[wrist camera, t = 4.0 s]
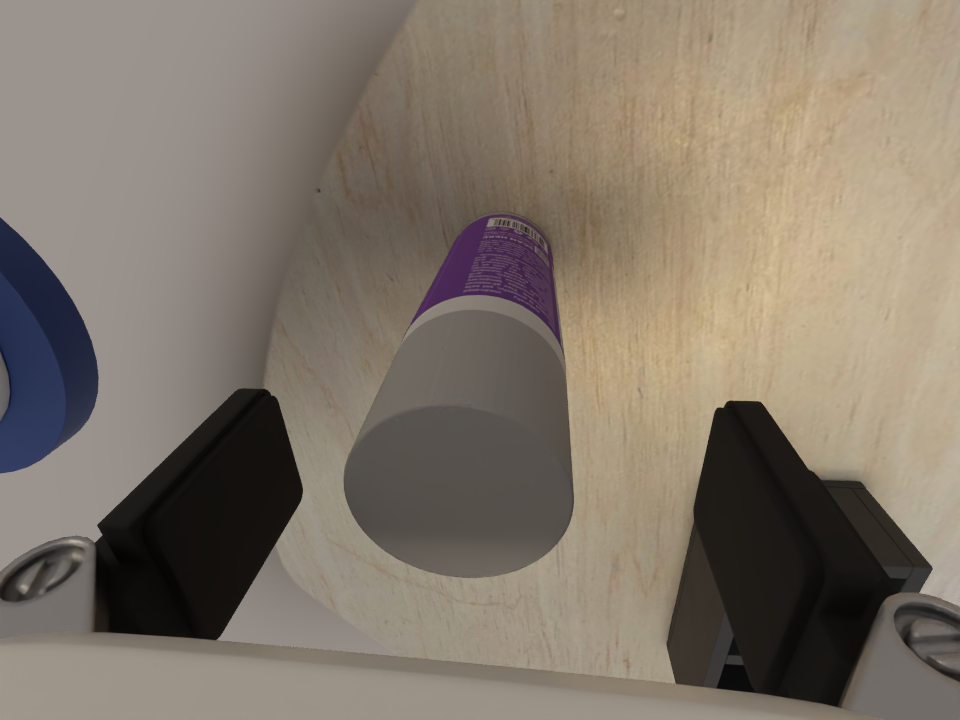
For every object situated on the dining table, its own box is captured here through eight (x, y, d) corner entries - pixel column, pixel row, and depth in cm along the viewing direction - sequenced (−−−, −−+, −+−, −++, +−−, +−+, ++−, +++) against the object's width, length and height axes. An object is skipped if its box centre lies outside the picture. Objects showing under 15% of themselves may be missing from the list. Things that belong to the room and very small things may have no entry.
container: (431, 243, 22) (286, 455, 9) (523, 191, 21) (505, 354, 8) (482, 326, 24) (421, 604, 11) (570, 283, 23) (620, 545, 10)
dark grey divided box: (666, 644, 34) (687, 734, 30) (703, 476, 27) (740, 559, 22) (788, 652, 34) (831, 746, 29) (861, 481, 26) (934, 568, 21)
